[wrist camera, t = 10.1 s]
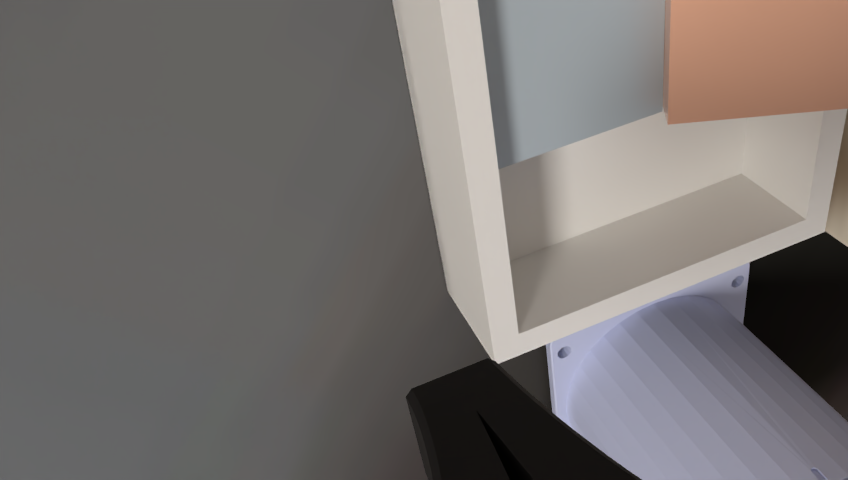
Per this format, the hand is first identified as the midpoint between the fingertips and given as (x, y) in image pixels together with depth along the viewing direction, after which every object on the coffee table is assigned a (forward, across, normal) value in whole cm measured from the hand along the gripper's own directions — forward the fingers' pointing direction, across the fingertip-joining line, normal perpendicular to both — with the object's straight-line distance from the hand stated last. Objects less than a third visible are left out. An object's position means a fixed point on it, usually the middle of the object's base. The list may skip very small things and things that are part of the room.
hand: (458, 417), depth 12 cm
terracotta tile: (+8, -12, -1) cm, 14 cm away
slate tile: (+8, -6, -1) cm, 10 cm away
